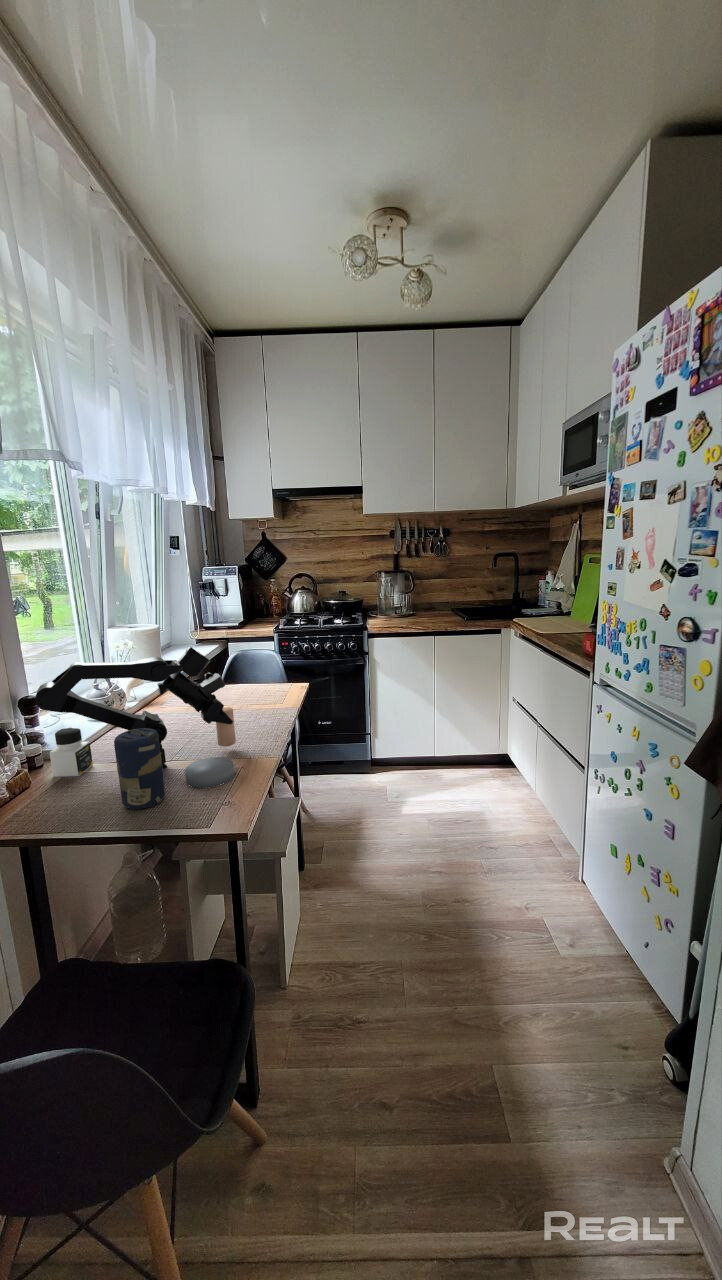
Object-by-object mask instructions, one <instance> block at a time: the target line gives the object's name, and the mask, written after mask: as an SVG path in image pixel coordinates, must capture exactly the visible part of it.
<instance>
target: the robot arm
mask: <svg viewBox="0 0 722 1280" xmlns="http://www.w3.org/2000/svg"><path fill="white" fill-rule="evenodd" d="M210 662H211V660H210V659H209V658H208V657H206V656H205V655H204V654H202V653H201V652H200V651H197V649H195V648H193V647H192V646H188V648H187V649H186V650H185V652H184V653H183V654H182V656H181V657H180V658H179V659H178V660H177V659H169V660H168V659H167V660H166V659H163V658H162V657H159V656H152V657H147V658H141V659H138V660H133V661H116V662H112V661H111V662H110V661H109V662H82V661H81V662H80V661H76V662H73V663H71V664H70V666H69V667H68V668H67V669H65V670H64V671H63V672H61V673H60V674H59V675H56V677H55V678H54V679H53V680H51V681H47V682H44V683H42V684H40V686H39V688H37V691H36V694H35V698H34V699H35V700H34V701H35V704H36V706H37V707H38V708H39V709H40V710H42V711H48V712H52V713H53V712H54V713H64V714H65V713H67V714H68V713H69V714H70V713H72V714H75V715H79V716H81V717H82V716H83V717H86V718H88V719H91V720H94V721H98V722H101V723H104V724H108V725H111V726H114V727H117V728H120V729H123V730H126V731H129V730H133V729H139V728H149V729H154V730H156V731H157V732H158V735H159V744H160V752H161V753H162V754H161V758H162V766H163V769H166V768H167V767H168V765H167V764H166V763H167V762H166V760H167V759H166V753H165V748H163V744H162V742H163V741H164V740H165V739H166V738H167V734H168V729H167V727H166V725H165V723H164V721H163V719H162V718H160V716H159V714H157V713H156V714H155V713H151V712H149V711H147V710H142V714H133V713H131V712H127V711H123V710H122V709H118V708H115V707H113V706H110V705H107V704H103V703H101V702H97V701H94V700H91V699H88V698H85V697H82V696H80V695H79V694H76V693H75V692H74V691H72V690H73V689H74V688H75V686H76V685H77V684H78V683H79V682H81V681H82V680H99V679H100V680H101V679H102V680H103V679H108V680H109V679H136V680H141V681H146V682H152V683H153V682H155V683H157V687H158V692H159V694H160V695H163V694H164V693H165V692H166V691H168V692H170V693H171V694H173V695H174V696H176V697H177V698H178V699H180V700H182V702H183V703H185V704H186V705H187V704H188V705H189V706H190V707H191V708H193V709H194V710H195V711H196V712H197V713H200V717H201V718H202V720H203V721H204V722H205V723H207V724H209V725H210V724H212V722H213V723H216V722H218V723H225V724H230V725H231V724H232V723H233V721H232V720H231V718H230V717H229V716H228V715H227V714H226V713H225V712H224V711H223V708H224V706H225V705H224V703H222V702H221V701H220V700H218V699H217V696H216V695H215V692H218V690H220V689H223V688H224V687H225V686H226V685H227V684H226V683H225V681H224V680H223V678H222V677H221V675H220V674H219V672H218V673H216V672H215V673H214V674H213V673H211V672H210V671H209V672H207V673H205V674H204V680H203V681H202V682H200V683H198V682H197V681H196V682H195V681H193V680H192V679H190V678H193V677H194V678H195V677H199V675H200V674H201V673H202V672H203V670H205V668H206V667H207V666H208V664H209V663H210ZM182 672H183V673H182ZM184 673H185V674H186V675H187V676H186V675H185V674H184ZM189 677H190V678H189Z"/></svg>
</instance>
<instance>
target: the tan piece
mask: <svg viewBox="0 0 722 1280" xmlns="http://www.w3.org/2000/svg"><path fill="white" fill-rule="evenodd" d="M223 711H224V712H225V713H226V714H227V715H228V716H229V717H230V718H231V720H232V721H233V723H232V724H231V725H230V724H225V723H218V722H215V725H216V735H217V738H216V739H217V746H218V747H230V746H233V745H235V744H237V743H236V742H237V739H236V728H235V717H234V708H233V707H230V706H228V707H227V706H226V707H223Z"/></svg>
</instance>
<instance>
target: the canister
mask: <svg viewBox="0 0 722 1280" xmlns="http://www.w3.org/2000/svg"><path fill="white" fill-rule="evenodd" d="M113 746H114V753H115V762H116V769H117V775H118V781H119V782H118V783H119V789H120V796H121V803H122V804H123V806H124V807H126V808H128V809H131V810H139V809H140V810H141V809H146V808H150V807H152V806H154V805H156V804H158V803H160V802H161V801H162V800H163V799H164V798H165V796H166V790H165V778H164V777H165V776H164V768H163V766H162V758H161V754H162V753H161V752H160V744H159V735H158V732H157V731H156V730H154V729H149V728H139V729H133V730H126V731H123V732H121V733H119V734H118V735H116V737H114V740H113Z"/></svg>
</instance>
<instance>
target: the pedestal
mask: <svg viewBox="0 0 722 1280" xmlns="http://www.w3.org/2000/svg"><path fill="white" fill-rule="evenodd" d="M234 765H235V764H234V761H233V760H232V759H230V758H228V757H224V756H212V757H206V758H201V759H199V760H195V761H193V762H192V763H190V764H188V765H187V766H186V767H185V769H184V774H185V783H186V784H188V785H187V786H189V785H190V786H189V787H191V786H192V787H191V788H194V787H197V788H196V789H209V788H208V787H211V788H214V787H213V786H216V787H219V786H221V785H220V784H222V785H224V784H226V782H227V781H228V782H230V781H231V780H232V779H233V778H234V777H235V767H234ZM229 780H230V781H229ZM228 782H227V783H228ZM223 783H224V784H223ZM218 785H219V786H218ZM206 787H207V788H206Z"/></svg>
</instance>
